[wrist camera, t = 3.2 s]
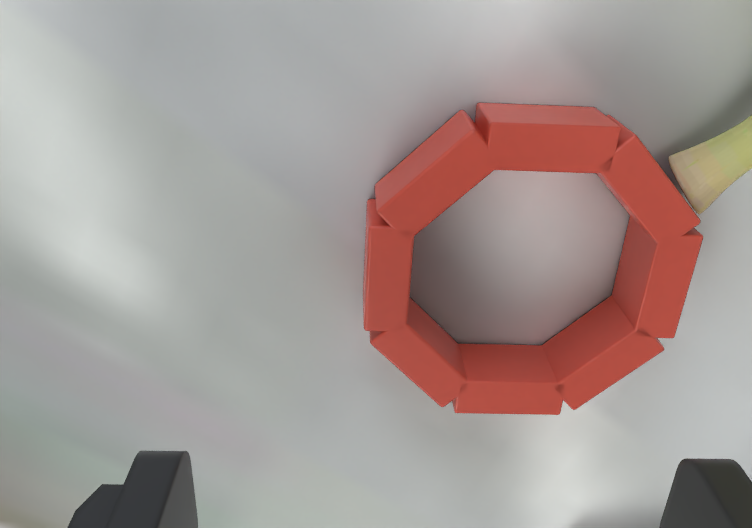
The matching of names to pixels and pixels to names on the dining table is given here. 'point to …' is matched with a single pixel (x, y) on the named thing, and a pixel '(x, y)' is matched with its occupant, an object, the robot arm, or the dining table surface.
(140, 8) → the dining table surface
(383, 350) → the ring
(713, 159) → the banana
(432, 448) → the dining table surface
